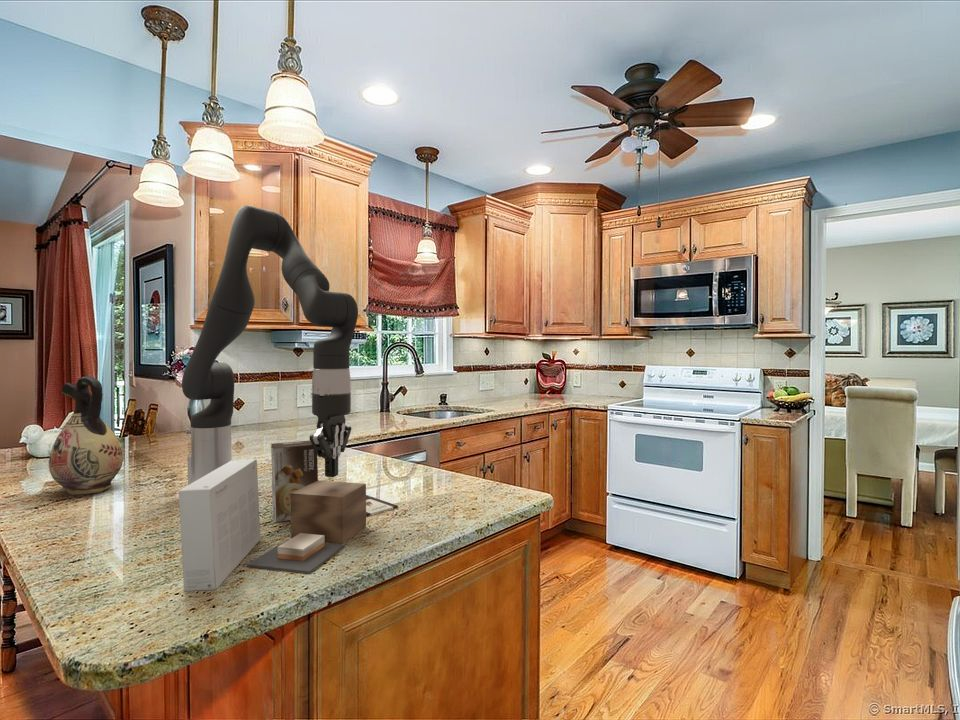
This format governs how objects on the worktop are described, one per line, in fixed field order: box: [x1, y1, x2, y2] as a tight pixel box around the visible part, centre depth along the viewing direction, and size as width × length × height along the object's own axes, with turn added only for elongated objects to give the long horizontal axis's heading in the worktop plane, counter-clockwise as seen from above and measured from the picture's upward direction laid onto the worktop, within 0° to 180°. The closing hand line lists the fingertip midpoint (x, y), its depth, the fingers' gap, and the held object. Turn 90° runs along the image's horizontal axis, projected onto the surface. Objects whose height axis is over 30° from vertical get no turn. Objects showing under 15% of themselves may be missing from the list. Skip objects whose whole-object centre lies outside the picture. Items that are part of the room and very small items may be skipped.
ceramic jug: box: [48, 375, 124, 496], centre depth 135 cm, size 17×15×30 cm
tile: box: [277, 533, 325, 561], centre depth 94 cm, size 5×7×2 cm
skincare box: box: [178, 458, 262, 592], centre depth 90 cm, size 21×5×16 cm, turn 5°
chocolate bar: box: [366, 494, 399, 517], centre depth 124 cm, size 9×1×18 cm
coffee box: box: [270, 440, 319, 523], centre depth 116 cm, size 9×6×16 cm
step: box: [290, 480, 367, 545], centre depth 105 cm, size 11×10×9 cm
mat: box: [245, 538, 346, 575], centre depth 93 cm, size 12×12×1 cm
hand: (331, 476), depth 106 cm, fingers closed
